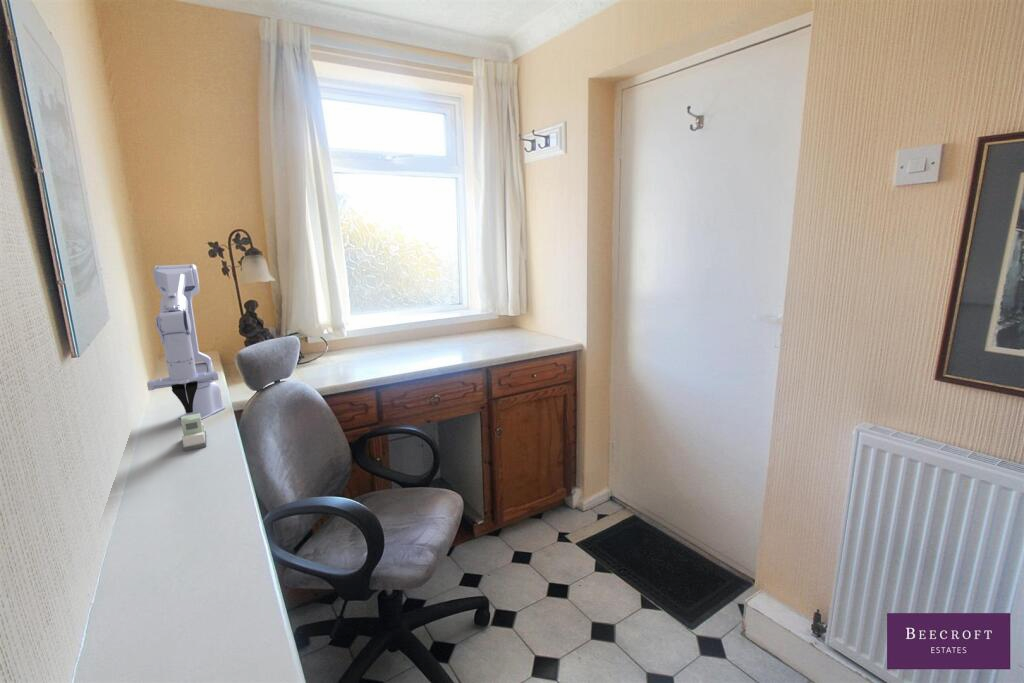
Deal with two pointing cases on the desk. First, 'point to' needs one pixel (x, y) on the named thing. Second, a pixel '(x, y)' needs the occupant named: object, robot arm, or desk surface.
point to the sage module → (191, 424)
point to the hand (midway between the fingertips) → (189, 411)
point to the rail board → (194, 440)
